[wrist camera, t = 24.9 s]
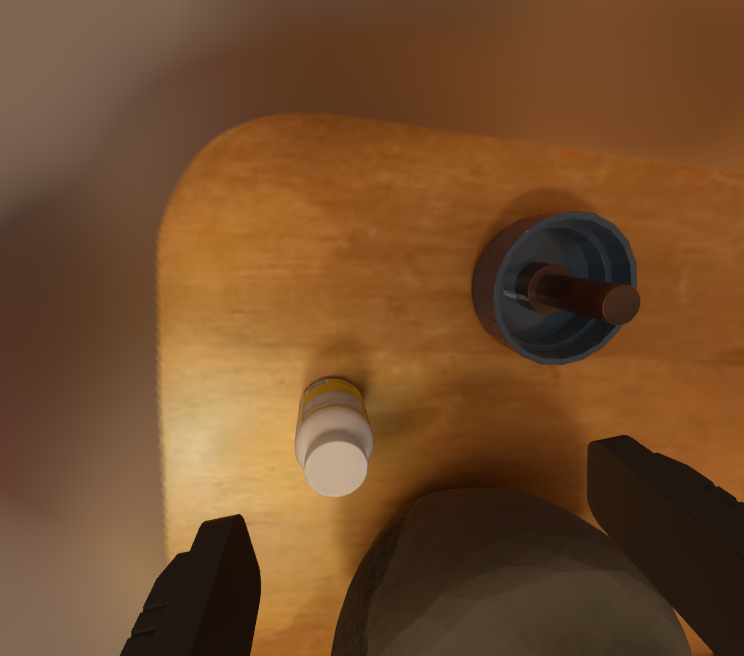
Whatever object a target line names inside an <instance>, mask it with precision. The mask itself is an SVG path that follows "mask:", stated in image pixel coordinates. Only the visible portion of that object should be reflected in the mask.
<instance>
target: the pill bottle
mask: <svg viewBox="0 0 744 656" xmlns="http://www.w3.org/2000/svg"><path fill="white" fill-rule="evenodd" d="M372 450H373V434H372V430H371V427H370V423H369V419H368V416H367V412H366V408H365V405H364V401H363V398H362V395H361V393H360V391H359V389H358V388H357V387H356V386H355V385H354V384H353V383H352V382H351V381H349V380H347V379H345V378H342V377H338V376H328V377H323V378H320V379H318V380H316V381H314V382H313V383H312V384H310V385H309V386H308V387H307V388H306V390H305V391H304V393H303V395H302V397H301V400H300V404H299V413H298V420H297V428H296V436H295V454H296V457H297V460H298V462H299V464H300V465H301V467H302V468H303V469H304V473H305V478H306V480H307V483H308V484H309V485H310V487H311V488H312V489H313V490H314V491H316V492H317V493H319V494H321V495H324V496H327V497H341V496H345V495H348V494H350V493H352V492H353V491H355V490H356V489H357V488H358V487H359V486H360V485H361V484H362V483H363V481H364V480H365V477H366V475H367V470H368V461H369V459H370V456H371V454H372Z"/></svg>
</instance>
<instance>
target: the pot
mask: <svg viewBox="0 0 744 656" xmlns="http://www.w3.org/2000/svg"><path fill="white" fill-rule="evenodd" d="M331 656H692V654H691V649H690V646H689V644H688V641H687V638H686V636H685V633H684V630H683V628H682V626H681V624H680V622H679V620H678V618H677V616H676V614H675V612H674V610H673V608H672V606H671V605H670V603H669V602H668V601H667V600H666V599H665V598H664V597H663V596H662V594H661V593H660V592H659V591H658V590H657V589H656V588H655V587H654V585H653V584H652V583H651V582H650V581H649V580H648V579H647V578H646V577H645V575H644V574H643V573H642V572H641V571H640V570H639V569H638V568H637V566H636V565H635V564H634V563H633V562H632V561H631V560H630V559H629V558H628V556H627V555H626V554H625V553H624V552H623V551H622V550H621V549H620V547H619V546H618V545H617V544H616V543H615V542H614V541H613V540H612V539H611V538H610V537H608V536H607V535H606V534H605V533H603V532H602V531H600V530H599V529H597V528H595V527H594V526H592V525H591V524H589V523H587V522H586V521H584V520H582V519H581V518H579V517H578V516H576V515H574V514H573V513H571V512H569V511H568V510H566V509H564V508H562V507H559V506H557V505H555V504H552V503H550V502H548V501H546V500H543V499H541V498H538V497H535V496H532V495H528V494H525V493H522V492H516V491H508V490H500V489H492V488H484V487H483V488H461V489H457V488H452V489H447V490H443V491H438V492H433V493H430V494H427V495H425V496H423V497H421V498H419V499H417V500H415V501H413V502H410V503H408V504H406V505H405V506H404V507H403V508H402V509H401V510H400V511H399V512H398V513H397V514H396V515H395V516H394V517H393V518H392V519H391V520H390V521H389V522H388V523H387V525H386V526H385V527H384V528H383V530H382V531H381V532H380V533H379V534H378V536H377V537H376V538H375V540H374V542H373V544H372V545H371V547H370V549H369V550H368V552H367V553H366V555H365V556H364V558H363V560H362V562H361V564H360V566H359V567H358V569H357V571H356V573H355V575H354V577H353V579H352V581H351V583H350V585H349V588H348V591H347V594H346V597H345V600H344V603H343V606H342V609H341V612H340V615H339V618H338V622H337V626H336V630H335V635H334V641H333V646H332V652H331Z"/></svg>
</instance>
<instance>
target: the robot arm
mask: <svg viewBox="0 0 744 656" xmlns="http://www.w3.org/2000/svg"><path fill="white" fill-rule="evenodd" d="M587 499H588V504H589V507H590V509H591V512H592V514H593V516H594V518H595V519H596V521H597V522H598V524H599V525H600V526H601V527H602V528H603V530H604V531H605V532H606V533H607V534H608V535H609V536H610V537H611V539H612V540H613V541H614V542H615V543H616V544H617V545H618V546H619V547H620V549H621V550H622V551H623V552H624V553H625V554H626V555H627V556H628V558H629V559H630V560H631V561H632V562H633V563H634V564H635V565H636V566H637V568H638V569H639V570H640V571H641V572H642V573H643V574H644V575H645V577H646V578H647V579H648V580H649V581H650V582H651V583H652V584H653V585H654V587H655V588H656V589H657V590H658V591H659V592H660V593H661V594H662V596H663V597H664V598H665V599H666V600H667V601H668V602H669V603H670V605H671V606H672V607H673V608H674V609H675V610H676V611H677V612H678V613H679V615H680V616H681V617H682V618H683V619H684V620H685V621H686V622H687V624H688V625H689V626H690V627H691V628H692V629H693V630H694V631H695V632H696V634H697V635H698V636H699V637H700V638H701V639H702V640H703V641H704V643H705V644H706V645H707V646H708V647H709V648H710V649H711V650H712V651H713V653H714V654H715V655H716V656H744V503H743V502H738V501H737V500H736V498H735V497H734V496H732V495H731V494H729V493H728V492H727V491H725V490H724V489H722V488H721V487H719V486H718V487H716V486H715V485H714V483H713V482H712V481H710V480H709V479H707V478H706V477H704V476H703V475H701V474H700V473H698V472H697V471H696V470H694V469H693V468H691V467H690V466H688V465H686V464H684V463H681V462H679V461H676V460H674V459H672V458H669V457H667V456H665V455H662V454H660V453H653V452H651V451H650V450H649V449H647V448H646V447H644V446H643V445H641V444H640V443H639V442H637V441H636V440H634V439H633V438H631V437H630V436H627V435H621V436H616V437H611V438H606V439H601V440H597V441H592V442H591V443H590V444H589V446H588V457H587ZM260 596H261V576H260V569H259V565H258V562H257V559H256V555H255V552H254V549H253V546H252V543H251V540H250V536H249V533H248V530H247V527H246V524H245V521H244V518H243V517H242V515H240V514H237V515H232V516H227V517H222V518H218V519H213V520H208V521H205V522H203V523H202V524H201V526H200V528H199V530H198V533H197V535H196V537H195V540H194V542H193V545H192V547H191V549H190V551H189V552H184V553H179V554H177V555H176V557H175V558H174V559H173V560H172V561H171V563H170V564H169V565H168V566H167V567H166V568H165V570H164V571H163V572H162V573H161V574H160V576H159V577H158V578H157V579H156V581H155V583H154V585H153V587H152V590H151V592H150V594H149V596H148V598H147V600H146V602H145V604H144V606H143V612H142V613H140V614H139V617H138V619H137V621H136V623H135V625H134V627H133V629H132V631H131V638H128V640H127V641H126V644H125V646H124V648H123V650H122V652H121V654H120V656H250V653H251V647H252V642H253V636H254V631H255V625H256V620H257V614H258V609H259V603H260Z"/></svg>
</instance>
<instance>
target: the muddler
mask: <svg viewBox="0 0 744 656" xmlns="http://www.w3.org/2000/svg"><path fill="white" fill-rule="evenodd" d="M515 295H516V298H517V300H518V302H519V303H520V304H521V305H522V306H523V307H525V308H527V309H529V310H532V311H535V312H538V313H541V314H547V315H548V314H554V313H557V312H559V311H561V310H565V311H568V312H571V313H575V314H578V315H582V316H585V317H588V318H592V319H595V320H598V321H602V322H605V323H609V324H612V325H623V324H625V323H627V322H629V321H630V320H632V319H633V318H634V316H635V315H636V314H637V312H638V310H639V306H640V296H639V294H638V292H637V290H636V289H635V288H633V287H632V286H630V285H625V284H618V283H612V282H605V281H599V280H592V279H585V278H579V277H573V276H572V274H571V272H570V271H569V270H568V269H567V268H566V267H564V266H562V265H559V264H550V263H541V262H540V263H534V264H531V265H529V266H527V267H526V268H525V269H524V270H523V271H522V272H521V273H520V274H519V276H518V278H517V280H516V284H515Z"/></svg>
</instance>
